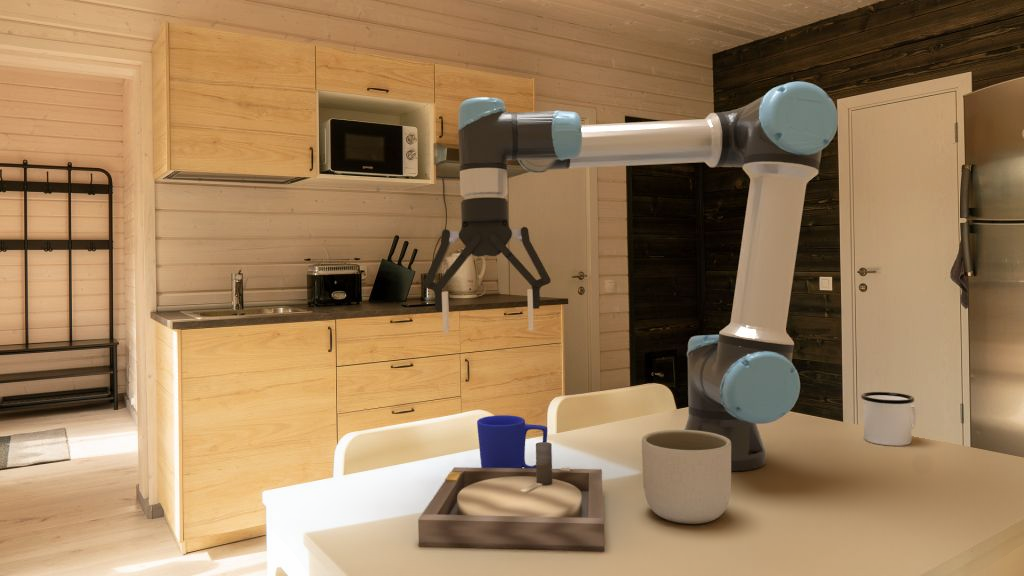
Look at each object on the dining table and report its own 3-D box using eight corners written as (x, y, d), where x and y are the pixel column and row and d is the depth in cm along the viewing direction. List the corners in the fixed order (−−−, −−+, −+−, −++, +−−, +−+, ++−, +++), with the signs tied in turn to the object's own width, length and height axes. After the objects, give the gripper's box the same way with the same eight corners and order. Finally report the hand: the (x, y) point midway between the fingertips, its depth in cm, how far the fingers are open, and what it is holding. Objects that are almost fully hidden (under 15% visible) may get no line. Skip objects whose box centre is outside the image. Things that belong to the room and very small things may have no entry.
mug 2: (888, 449, 135) (888, 402, 135) (850, 438, 144) (850, 393, 144) (935, 442, 139) (935, 397, 139) (895, 432, 148) (895, 389, 148)
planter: (717, 537, 94) (716, 455, 93) (629, 520, 100) (628, 444, 100) (741, 508, 104) (740, 435, 104) (660, 495, 111) (659, 426, 110)
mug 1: (544, 487, 116) (543, 426, 116) (472, 484, 118) (471, 424, 118) (551, 472, 124) (550, 416, 124) (484, 470, 126) (483, 414, 126)
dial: (535, 544, 90) (534, 479, 90) (431, 517, 101) (430, 458, 101) (604, 504, 105) (603, 448, 105) (507, 484, 116) (506, 433, 115)
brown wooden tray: (602, 490, 114) (601, 467, 113) (604, 551, 90) (603, 521, 90) (454, 488, 116) (454, 465, 116) (418, 546, 92) (418, 517, 92)
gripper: (560, 198, 117) (564, 326, 117) (409, 202, 117) (414, 331, 118) (564, 193, 109) (568, 330, 110) (402, 198, 109) (407, 335, 110)
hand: (488, 331), depth 114 cm, fingers open, 13 cm apart
